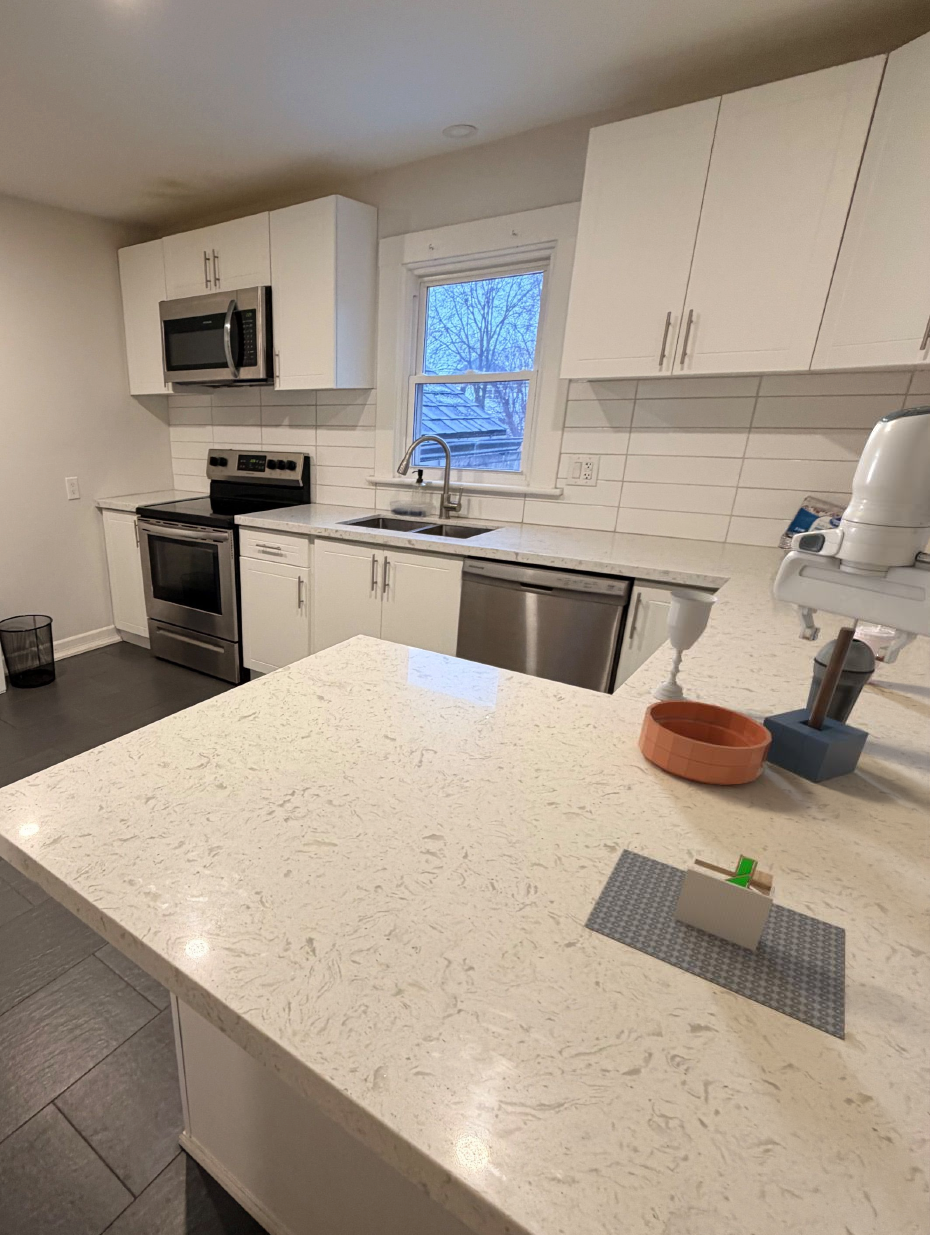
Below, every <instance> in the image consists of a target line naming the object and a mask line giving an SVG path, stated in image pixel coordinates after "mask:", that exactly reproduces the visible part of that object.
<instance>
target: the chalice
mask: <svg viewBox="0 0 930 1235" xmlns="http://www.w3.org/2000/svg"><path fill="white" fill-rule="evenodd" d="M669 594H670V598H671V601H670V606H669V610H668V614H667V619H666V628H667V634H668V638H669V641H670V645H671V647H672V648H673V649H675V655H674V657H673V658H671V661H672V666H671V667H670V668H669V669H668V671H669V674H670V675H669V678H668V679H666V680H665V681H661V682H659V683H658V686H657V687H656V688H655V690H653V691H652V692H651V695H652V696H653V697H654V698H655V699H658V700H660V701H669V700H684V701H686V700H685V697H684V692H683V687H682V686H681V684H680V683H678V681H677V676H678V674H680V673H681V670H680V665H681V663H682V662H683V659H682V656H683V652H684V651H689V650H690V649H691V648H692V647H693V646H694V645H695V643H697V641H698V640H699V639H700V638H701V637H702V635H703V634H704V632H705V630H706V629H707V626H708V624H709V623H708V622H709V619H710V615H711V611H712V608H713V606H714V604H715V603H716V602H717V601H718V598H717V597H716V596H714V595H712V594H709V593H706V592H702V591H696V590H688V589H676V590H672V591H670V592H669Z"/></svg>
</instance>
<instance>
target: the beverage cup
mask: <svg viewBox="0 0 930 1235" xmlns="http://www.w3.org/2000/svg"><path fill="white" fill-rule="evenodd" d="M858 622H859V620H857V619H853V622H852V626H851V628H853V629H855V630H856V627H857V626H858ZM836 640H837V638H834V639H832V640H829V641H828V642H826V644H824V645H823V646H821V647H820V649H818V652H817V653H816V656H815V657H814V658H813V666H812V667H813V668H812V674H813V675H812V679H811V684H810V688H809V693H808V697H807V701H806V706H805V709H807V710H810V711H812V710H813V707H814V704H815V701H816V698H817V695H818V692H819V690H820V687H821V684H822V681H823V678H824V675H825V672H826V669H827V666H828V663H829V660H830V658H831V655H832V652H833V649H834V646H835V643H836ZM874 667H875V656H874V653H873V651H872V649H871V648H870V647H869V646H868V645H867V644H866V643H865V642H863V641H861V640H859V639H855V638H853V640H852V643H851V646H850V649H849V652H848V654H847V657H846V660H845V663H844V666H843V669H842V671H841V674H840V677H839V680H838V683H837V685H836V688H835V691H834V694H833V697H832V700H831V702H830V705H829V708H828V711H827V714H826V717H828V718H831V719H833V720H836V721H838V722H841V723H844V724H846V723H847V721H848V719H849V717H850V715H851V713H852V711H853V709H854V707H855V705H856V703H857V701H858V699H859V697H860V695H861V693H862V691H863V689H864V687H865V686H866V684H868V683H867V681H868V680H869V678H870V677H871V675H872V673H873V672H874V671H875V669H874ZM875 672H876V671H875Z"/></svg>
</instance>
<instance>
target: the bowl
mask: <svg viewBox="0 0 930 1235" xmlns="http://www.w3.org/2000/svg"><path fill="white" fill-rule="evenodd" d="M771 742H772V737H771V733H770V732H769V731H768V729H767V728H766V727H765V726H764V725H763V723H760V722H759V721H757V720H756V719H755V718H753V717H751V716H748V715H745V714H743V713H741V712H739V711H736V710H733V709H729V708H726V707H723V706H719V705H716V704H711V703H705V702H701V701H694V700H693V701H692V700H669V701H663V700H660V701H657V702H654V703H652V704H650V705H648V706H647V707H646V709H645V713H644V717H643V721H642V725H641V730H640V734H639V739H638V742H637V746H638V749H639V750H640V752H641V754H642V755H644V757H646V758H647V759H648V760H649V761H650V762H652V763H653V764H654V765H656V766H657V767H659V768H661V769H663V770H664V771H666V772H667V773H670V774H672V775H675V776H678V777H681V778H683V779H687V780H689V781H694V782H698V783H703V784H710V785H720V786H721V785H722V786H726V785H727V786H728V785H730V786H731V785H736V784H737V785H740V784H745V783H749V782H753V781H756V779H758V778H759V777H760V776H761V775H762V773H763V769H764V766H765V763H766V761H767V760H766V757H767V754H768V751H769V748H770V745H771Z"/></svg>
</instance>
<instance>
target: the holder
mask: <svg viewBox="0 0 930 1235" xmlns="http://www.w3.org/2000/svg"><path fill="white" fill-rule="evenodd" d="M811 713H812V711H810V710H807V709H806V707H803V708H797V709H795V710H789V711H786V712H782V713H777V714H773V715H768V716H765V717H764V720H763V723H762V725H764V726H765V727H766V728H767V729H768V731H769V732H770V733H771V737H772V742H771V745H770V748H769V751H768V754H767V757H766V760H765V761H767V762H769V763H771V764H774V765H776V766H778V767H780V768H782V769H784V770H787V771H789V772H791V773H793V774H794V775H797V776H799V777H801V778H803V779H805V780H807V781H809V782H812V783H814V784H817V783H820V782H824V781H827V780H830V779H833V778H837V777H840V776H843V775H846V774H850V773H854V772H855V771H856V769H857V765H858V762H859V760H860V757H861V755H862V752H863V749H864V747H865V744H866V741H867V740H868V736H869V734H870V733H869V732H868V731H864V730H862V729H860V728H856V727H854V726H851V725H850V724H849V725H848V724H846V723H845V724H844V723H841V722H838V721H836V720H833V719H831V718H828V717H825V719H824V722H823V725H822V728H821V731H818V730H816V729H813V728H811V727H808V726H807V724H808V722H809V719H810V716H811Z"/></svg>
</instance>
